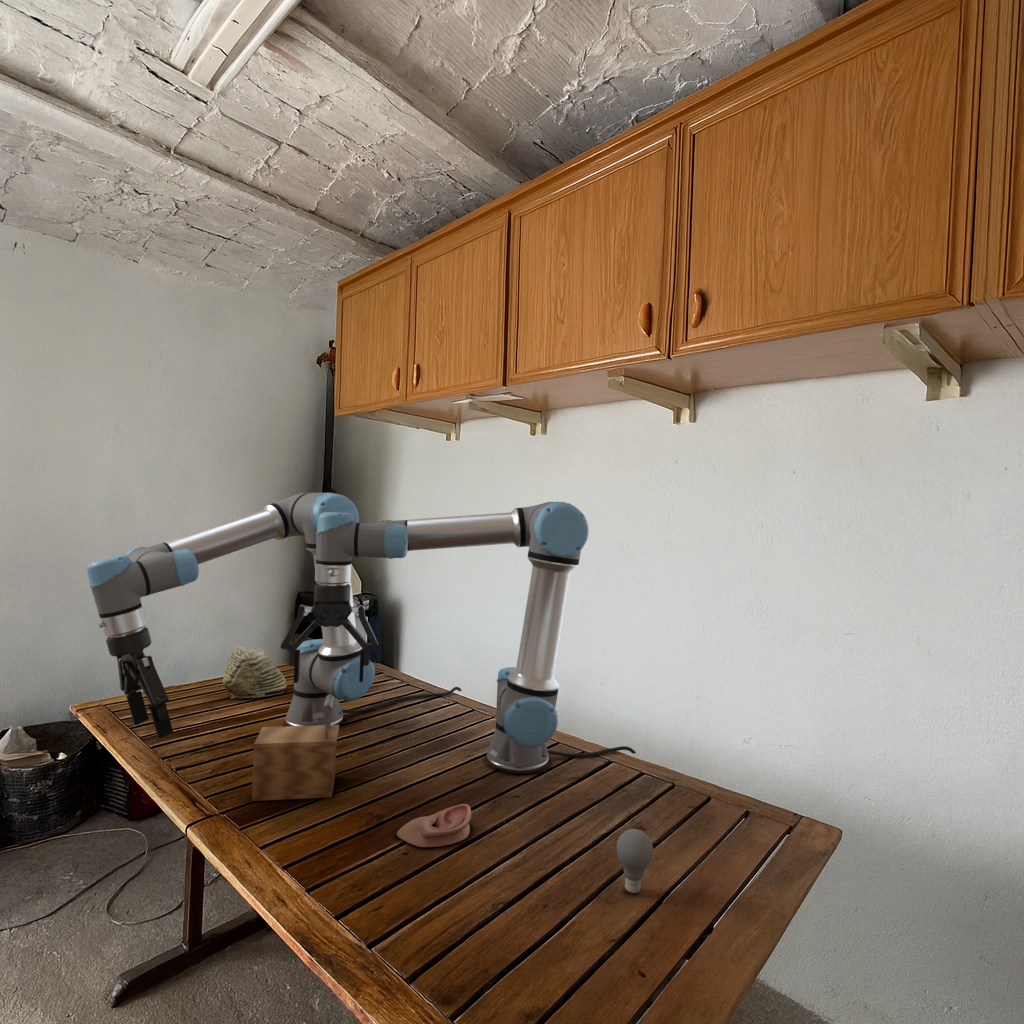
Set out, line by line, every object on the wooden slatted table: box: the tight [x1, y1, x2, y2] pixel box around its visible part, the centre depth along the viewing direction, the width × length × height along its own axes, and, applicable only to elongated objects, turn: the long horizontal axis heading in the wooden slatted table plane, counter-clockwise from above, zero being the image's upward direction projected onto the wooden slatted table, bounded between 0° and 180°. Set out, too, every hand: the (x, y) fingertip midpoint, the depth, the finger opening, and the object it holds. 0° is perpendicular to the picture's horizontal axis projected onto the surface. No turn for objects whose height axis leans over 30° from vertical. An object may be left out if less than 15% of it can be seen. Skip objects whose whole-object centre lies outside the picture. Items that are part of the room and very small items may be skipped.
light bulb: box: [615, 828, 654, 894], centre depth 106 cm, size 6×6×10 cm
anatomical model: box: [396, 803, 472, 848], centre depth 121 cm, size 13×4×12 cm
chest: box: [251, 744, 337, 802], centre depth 137 cm, size 16×10×11 cm, turn 102°
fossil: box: [222, 646, 288, 699], centre depth 198 cm, size 9×18×15 cm, turn 132°
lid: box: [253, 695, 340, 749], centre depth 137 cm, size 16×10×8 cm, turn 102°
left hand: (153, 728), depth 132 cm, fingers open, 13 cm apart
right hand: (329, 680), depth 138 cm, fingers open, 13 cm apart
